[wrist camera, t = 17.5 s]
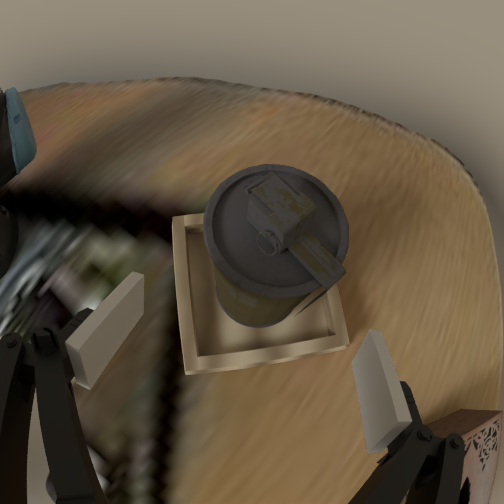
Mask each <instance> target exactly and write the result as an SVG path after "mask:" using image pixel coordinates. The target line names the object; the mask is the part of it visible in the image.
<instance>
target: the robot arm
mask: <svg viewBox="0 0 504 504" xmlns="http://www.w3.org/2000/svg"><path fill="white" fill-rule="evenodd" d="M36 151H37V147H36V141H35V137H34V134H33V131H32V128H31V124H30V121H29V118H28V115H27V113H26V110H25V107H24V104H23V102H22V99H21V97H20V95H19V92H18V91H17V90H16V88H14V87H13V88H11V89H7V90H6V92H5V93H3V91H2V90H1V88H0V188H2V187H3V186H4V185H5V184H6V183H7V182H9V181H10V180H11V179H12V178H13V177H15V176H16V175H18V174H19V173H20V171H21V170H22V169H23V168H24V167H25V166H27V165H28V164H29V163H30V162H31V161H32V160H33V159H34V157H35V155H36ZM17 240H18V225H17V220H16V218H15V216H14V215H13V214H12V213H11V212H10V211H9V210H8V209H7V208H5V207H4V206H1V205H0V278H1V277H2V276H3V274H4V273H5V272H6V270H7V268H8V267H9V265H10V263H11V260H12V258H13V255H14V253H15V249H16V245H17ZM143 314H144V275H143V274H140V273H136V272H132V273H131V274H130V275H129V276H128V277H126V278H125V279H124V280H123V281H122V282H121V283H120V284H119V285H118V286H117V287H116V288H115V289H114V290H113V292H112V293H111V294H110V295H109V296H108V297H107V298H106V299H105V300H104V301H103V302H102V303H101V304H100V305H99V306H98V307H97V308H96V309H95V310H92V309H89V308H86V309H84V310H82V311H80V312H78V313H77V314H76V315H75V316H74V317H73V319H71V320H70V321H69V323H68V324H66V326H65V327H64V328H63V329H62V330H61V331H60V332H59V333H58V334H56V332H55V330H54V329H53V328H52V327H49V326H39V327H37V328H35V329H33V331H32V332H31V333H30V340H31V343H32V344H29V343H25V342H23V340H22V337H21V335H19V334H18V333H15V332H10V333H7V334H5V335H4V336H2V338H1V340H0V504H27V453H28V438H29V428H30V420H31V412H32V406H33V399H34V393H35V388H36V393H37V403H38V412H39V419H40V426H41V432H42V437H43V443H44V448H45V452H46V456H47V461H48V466H49V470H50V473H51V477H52V481H53V484H54V488H55V491H56V494H57V500H56V504H108V502H107V500H106V498H105V495H104V493H103V490H102V488H101V485H100V483H99V480H98V478H97V475H96V472H95V469H94V467H93V464H92V461H91V458H90V455H89V452H88V448H87V445H86V442H85V438H84V435H83V431H82V427H81V424H80V420H79V416H78V411H77V407H76V403H75V398H74V393H73V388H72V384H71V380H72V379H73V377H74V376H75V378H76V382H77V384H79V385H81V386H83V387H85V388H87V389H89V390H90V389H91V388H92V386H93V385H94V383H95V382H96V380H97V379H98V377H99V376H100V374H101V373H102V372H103V370H104V369H105V367H106V366H107V364H108V363H109V361H110V360H111V358H112V357H113V356H114V354H115V353H116V351H117V350H118V348H119V347H120V346H121V344H122V343H123V341H124V340H125V339H126V337H127V336H128V334H129V333H130V332H131V330H132V329H133V327H134V326H135V325H136V323H137V322H138V321H139V319H140V318H141V316H142V315H143ZM351 363H352V368H353V373H354V378H355V383H356V388H357V393H358V399H359V404H360V410H361V416H362V421H363V427H364V434H365V440H366V447H367V453H379V452H382V451H383V450H384V449H385V448H386V447H388V453H387V454H386V455H385V456H384V457H383V458H381V459H380V460H379V461H378V462H377V463H378V464H379V465H378V466H377V468H376V469H375V470H374V472H373V473H372V474H371V476H370V477H369V478H368V480H367V481H366V482H365V483H364V485H363V486H362V487H361V488H360V490H359V491H358V492H357V493H356V495H355V496H354V497H353V498H352V499H351V501H350V502H349V503H348V504H400V503H401V502H402V500H403V499H404V497H405V495H406V494H407V492H408V490H409V492H408V495H407V498H406V502H405V504H458V501H459V495H460V489H461V482H462V474H463V465H464V453H465V442H464V440H463V438H462V437H461V436H460V435H458V434H457V433H451V434H449V435H448V436H447V437H446V438H442V437H438V436H434V434H433V432H432V430H431V429H430V428H429V427H428V426H425V425H423V424H422V421H421V418H420V415H419V412H418V409H417V406H416V404H415V400H414V398H413V394H412V391H411V389H410V387H409V386H408V385H407V383H406V382H404V381H399V378H398V376H397V373H396V370H395V367H394V364H393V361H392V359H391V356H390V353H389V351H388V348H387V345H386V343H385V340H384V337H383V335H382V332H381V331H380V330H375V329H369V331H368V333H367V335H366V337H365V339H364V340H363V342H362V344H361V346H360V348H359V350H358V351H357V353H356V355H355V357H354V359H353V360H352V362H351ZM409 488H410V489H409Z"/></svg>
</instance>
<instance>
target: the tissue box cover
mask: <svg viewBox="0 0 504 504" xmlns="http://www.w3.org/2000/svg"><path fill="white" fill-rule="evenodd" d="M502 412H503V411H489V410H469V409H460V410H458V411H456V412H454V413H452V414H450V415H448V416H446V417H444V418H441V419H439V420H437V421H435V422H432V423H430V424H428V425H425V426H428V427H429V428H430V429H431V430H432V432H433V434H434V436H438V437H442V438H446V437H447V436H448V435H449V434H451V433H457V434H458V435H460V436H461V437H462V438H463V440H464V442H465V453H464V465H463V474H462V482H461V489H460V495H459V501H458V504H489V500H490V496H491V492H492V488H493V484H494V479H495V473H496V468H497V462H498V455H499V447H500V438H501V428H502ZM409 489H410V488H409ZM408 492H409V490H408ZM408 492H407V494H406V495H405V497H404V499H403V500H402V502H401V503H400V504H405V502H406V498H407V495H408Z"/></svg>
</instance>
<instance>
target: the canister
mask: <svg viewBox="0 0 504 504" xmlns="http://www.w3.org/2000/svg"><path fill="white" fill-rule="evenodd" d="M203 236H204V241H205V245H206V248H207V251H208V253H209V256H210V258H211V261H212V266H213V271H214V276H215V281H216V295H217V298H218V301H219V303H220V305H221V307H222V309H223V310H224V311H225V313H226V314H227V315H228V316H229V317H230V318H231V319H233V320H234V321H235V322H237V323H239V324H241V325H244V326H247V327H253V328H265V327H269V326H273V325H275V324H277V323H279V322H281V321H282V320H284V319H285V318H286V317H287V316H288V315H289V314H290V313H291V312H292V310H293V309H294V308H295V307H296V306H297V305H298V304H300V303H301V302H302V301H303V300H304V299H305V298H306V297H307V296H309V295H310V294H311V293H312V292H313V291H314V290H316V289H318V288H319V287H321V286H323V287H324V288H325V290H324V291H323V292H322V293H321V294H319V295H318V296H317V297H316V298H315V299H313V300H312V301H311V302H310V303H308V304H307V305H306V306H305V307H304V308H303V309H302V310H301V311H300V312H302V311H303V310H304V309H306V308H307V307H308V306H310V305H311V304H312V303H313V302H315V301H316V300H317V299H319V298H320V297H321V296H323V295H324V294H325V293H326V292H327V291H328V290H329V289H330V288H331V287H332V286H333V285H334V284H335V283H336V282H337V281H338V280H339V279H340V278H341V277H342V276H343V275H344V274H345V273H346V270H345V269H344V267H343V266H342V263H343V261H344V259H345V257H346V253H347V250H348V241H349V225H348V222H347V219H346V216H345V213H344V210H343V208H342V206H341V204H340V203H339V201H338V199H337V197H336V196H335V195H334V194H333V193H332V192H331V191H330V190H329V189H328V187H327V186H326V185H325V184H324V183H322V182H321V181H320V180H319V179H317V178H316V177H314V176H312V175H310V174H308V173H306V172H304V171H302V170H299V169H296V168H293V167H290V166H285V165H275V164H264V165H258V166H253V167H249V168H246V169H244V170H241V171H239V172H237V173H235V174H234V175H232V176H230V177H229V178H227V179H226V180H225V181H224V182H222V183H221V184H220V185H219V186H218V188H217V189H216V190H215V192H214V193H213V194H212V196H211V197H210V199H209V201H208V203H207V205H206V209H205V212H204V216H203ZM300 312H299V313H300ZM299 313H298V314H299ZM298 314H296V315H298ZM296 315H295V316H296ZM295 316H294V317H295Z"/></svg>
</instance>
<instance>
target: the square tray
mask: <svg viewBox="0 0 504 504" xmlns="http://www.w3.org/2000/svg"><path fill="white" fill-rule="evenodd" d="M203 216H204V213H200V214H192V215H184V216H176V217H173V223H172V231H173V252H174V268H175V282H176V294H177V306H178V316H179V326H180V335H181V343H182V351H183V359H184V367H185V374H186V375H190V374H201V373H211V372H220V371H228V370H236V369H243V368H250V367H257V366H263V365H269V364H275V363H281V362H286V361H292V360H297V359H302V358H307V357H311V356H316V355H321V354H325V353H330V352H334V351H338V350H342V349H346V345H348V344H350V343H349V338H348V333H347V328H346V323H345V318H344V313H343V308H342V304H341V299H340V294H339V290H338V286H337V282H336V283H335V284H334V285H333V286H332V287H331V288H330V289H329V290H328V291H327V292H326V293H325V294H324V295H323V296H321V297H320V298H319V299H317V300H316V301H315V302H313V303H312V304H311V305H310V306H308V307H307V308H306V309H304V310H303V311H302V312H300V311H301V310H302V309H303V308H304V307H305V306H306V305H307V304H308V303H310V302H311V301H312V300H313V299H315V298H316V297H317V296H318V295H319V294H321V293H322V292H323V291H324V290H325V288H324V287H323V286H321V287H319V288H318V289H316V290H314V291H313V292H312V293H311V294H310V295H309V296H307V297H306V298H305V299H304V300H303V301H302V302H301V303H300V304H298V305H297V306H296V307H295V308H294V309H293V310H292V312H291V313H290V314H289V315H288V316H287V317H286V318H285V319H284V320H282V321H281V322H279V323H277V324H275V325H273V326H269V327H265V328H253V327H247V326H244V325H241V324H239V323H237V322H235V321H234V320H233V319H231V318H230V317H229V316H228V315H227V314H226V313H225V311H224V310H223V309H222V307H221V305H220V303H219V301H218V298H217V295H216V281H215V276H214V271H213V266H212V261H211V258H210V256H209V253H208V251H207V248H206V245H205V241H204V236H203ZM299 312H300V313H299ZM298 313H299V314H298ZM296 314H298V315H296ZM295 315H296V316H295ZM294 316H295V317H294Z"/></svg>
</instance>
